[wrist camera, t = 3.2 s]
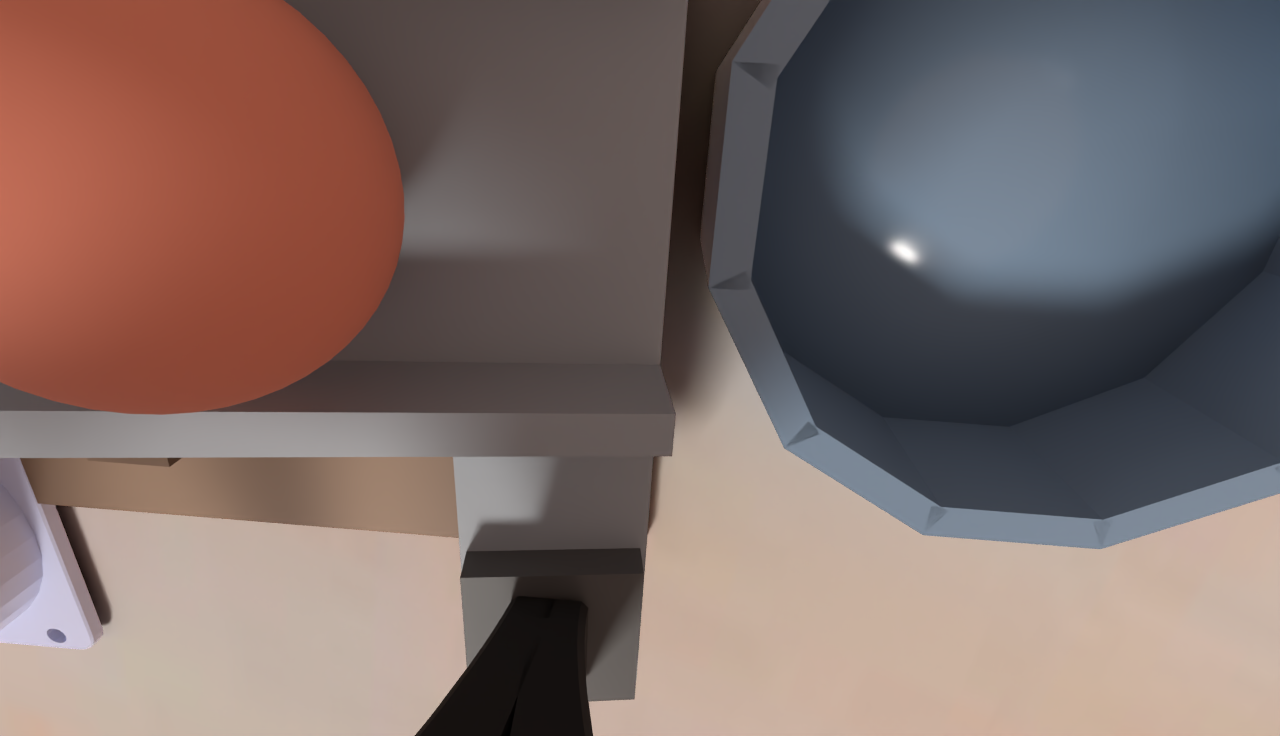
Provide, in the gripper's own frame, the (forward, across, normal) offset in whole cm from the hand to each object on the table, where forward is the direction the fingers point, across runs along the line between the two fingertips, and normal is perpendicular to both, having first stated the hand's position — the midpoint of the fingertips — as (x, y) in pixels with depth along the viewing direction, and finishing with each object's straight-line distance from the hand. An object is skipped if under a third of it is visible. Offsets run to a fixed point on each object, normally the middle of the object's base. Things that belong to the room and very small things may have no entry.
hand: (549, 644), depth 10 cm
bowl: (+5, -8, -7) cm, 12 cm away
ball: (-2, +3, -7) cm, 8 cm away
